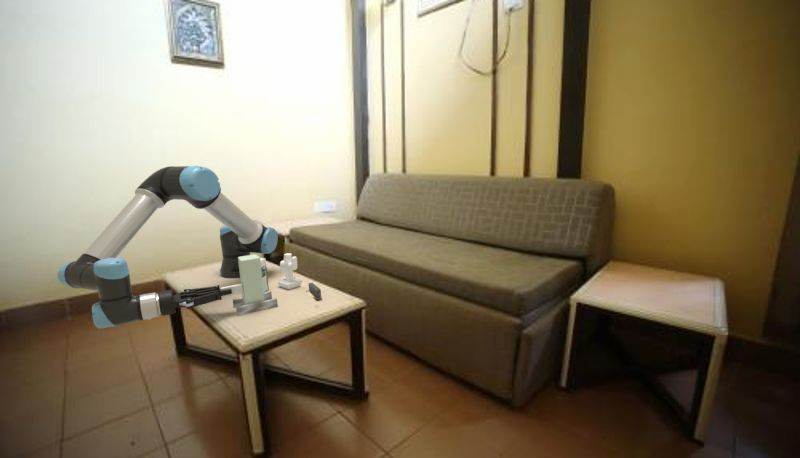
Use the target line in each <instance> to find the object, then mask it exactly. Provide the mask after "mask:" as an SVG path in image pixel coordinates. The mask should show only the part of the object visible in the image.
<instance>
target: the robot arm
mask: <svg viewBox="0 0 800 458" xmlns="http://www.w3.org/2000/svg"><path fill="white" fill-rule="evenodd" d="M134 194H135V195H134V196H133V198H132V199H131V200H130V201H129V202H128V203H127V204H126V205H125V206H124V208H123V209H121V211H120V212H119V213H118V214H117V215H116V217H114V218H113V220H112V221H111V222H110V223H109V224H108V225H107V226H106V227H105V229H104V230H103V231H102V232H101V233H99V235H98V236H97V238H95V240H94V241H93V242H92V243H91V244H90V245H89V246H88V247H87V248H86V249H85V251H84V252H83V253H82V254H81V255H80V256H79V257H78V258H77V259H76V260H75V261H69V262H66V263H65V264H63V265H61V266H60V268H59V269H58V272H57V279H58V281H59V283H61V284H62V285H64V286H65V287H70V288H73V289H83V290H90V291H97V292H98V298H99V301H98V302H95V303H93V304H92V305H91V313H92V314H91V315H92V318H91V319H92V322H93V324H94V326H95V327H96V328H97V329H105V328H110V327H111V328H112V327H118V326H122V325H127V324H130V323H136V322H139V321H145V320H148V321H150V320H152V319H154V318H159V317H160V315H161V316H162V317H165V316H169V315H174V314H175V313H176V309H179V308H186V309H187V310H190V309H193V308H195V307H199V306H202V305H206V304H209V303H212V302H216V301H221V300H222V298H223V297H227V296H232V295H236V294H237V295H238V294H242V293H243V291H242V284H241V283H238V284H233V285H227V286H222V287H220V285H215V286H207V287H205V286H204V287H199V288H185V289H183V291H181V292H177V293H176V294H174V291H173V290H172V289H167V290H166V289H165V290H161V291H158V293H157V292H151V293H150V292H148V293H144V294H139V295H138V294H137V295H133V291H132V283H131V277H130V276H131V275H130V269H129V267H128V263H127V260H126V259H125V258H123V257H119V255H120V254H121V253H122V251H123V250H124V249H125V248H126V247H127V245H128V244H130V242H131V241H132V239H134V237H136V235H137V234H138V232H139V231H140V230H141V229H142V228H143V227H144V225H146V223H147V221H148V220H149V219H150V218H151V217H152V216H153V215H154V214H155V212H156V211H157V210H158V209H162V208H164V206H166V204H167V203H168V202H170V201H173V200H179V201H181V200H183V201H186V203H187V202H188V203H189V204H190V205H191V206H192V207H193V208H196V209H198V210H204V211H206V212H207V213H209V214H210V215H211V216H212V217H214V218H215V219H216V220H218V222H220V223H221V224H223V226H221V227H220V229H219V239H220V246H221V253H222V262H221V265H220V270H219V272H220V273H219V274H220V277H223V278H230V279H231V278H232V279H233V278H240V272H239V262H238V257H241V256H247V255H251V253H253V254H254V253H255V254H263V255H265V254H267V255H268V254H271V253H273V252H274V251H275V250H276V248H277V245H278V241H279V240H278V237H279V235H278V232H277V230H276V229H275V227H271V226H268V227H267V226H265V225H264V224H263V223H262V222H260V221H258V220H253V219H252V218H251V217H249V215H247V214H246V213H245V212H244V211H243V210H241V209H240V208H239V207H238V206H237V205H236V204H235V203H234V202H233V201H232V200H230V199H229V198H228V197H227V196H226V195H224V193H222V187H221V182H220V181H219V177H218V176H217V174H216V173H215V172H214V171H213V170H211V169H210V168H209V167H205V166H199V165H189V166H188V165H187V166H179V165H178V166H175V165H174V166H165V167H162V168H160V169H158V170H156V171H155V172H153V173H152V174H151V175H150V176H149V175H148V177H146V179H144V181H143V182H141V183H140V184H139V186H138V187H137V188H136V189H135V191H134Z"/></svg>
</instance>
